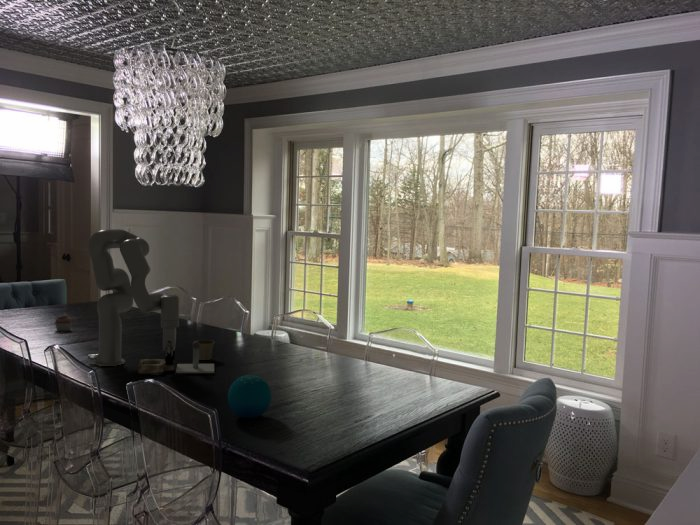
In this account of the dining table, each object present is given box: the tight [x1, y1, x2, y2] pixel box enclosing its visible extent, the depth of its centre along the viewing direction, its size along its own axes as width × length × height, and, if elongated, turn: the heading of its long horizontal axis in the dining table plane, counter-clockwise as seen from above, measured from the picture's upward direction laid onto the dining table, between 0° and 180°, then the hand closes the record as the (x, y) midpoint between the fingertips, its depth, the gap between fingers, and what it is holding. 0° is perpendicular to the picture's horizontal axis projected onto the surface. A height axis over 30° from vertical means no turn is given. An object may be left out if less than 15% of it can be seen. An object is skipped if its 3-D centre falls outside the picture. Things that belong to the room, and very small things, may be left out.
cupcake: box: [54, 312, 73, 333], centre depth 332 cm, size 9×9×10 cm
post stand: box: [175, 340, 215, 374], centre depth 266 cm, size 16×13×13 cm
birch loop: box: [137, 358, 174, 374], centre depth 262 cm, size 14×10×4 cm
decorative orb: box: [227, 374, 272, 419], centre depth 210 cm, size 15×15×15 cm
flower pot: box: [197, 339, 216, 361], centre depth 286 cm, size 9×9×9 cm
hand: (170, 362), depth 263 cm, fingers open, 9 cm apart
